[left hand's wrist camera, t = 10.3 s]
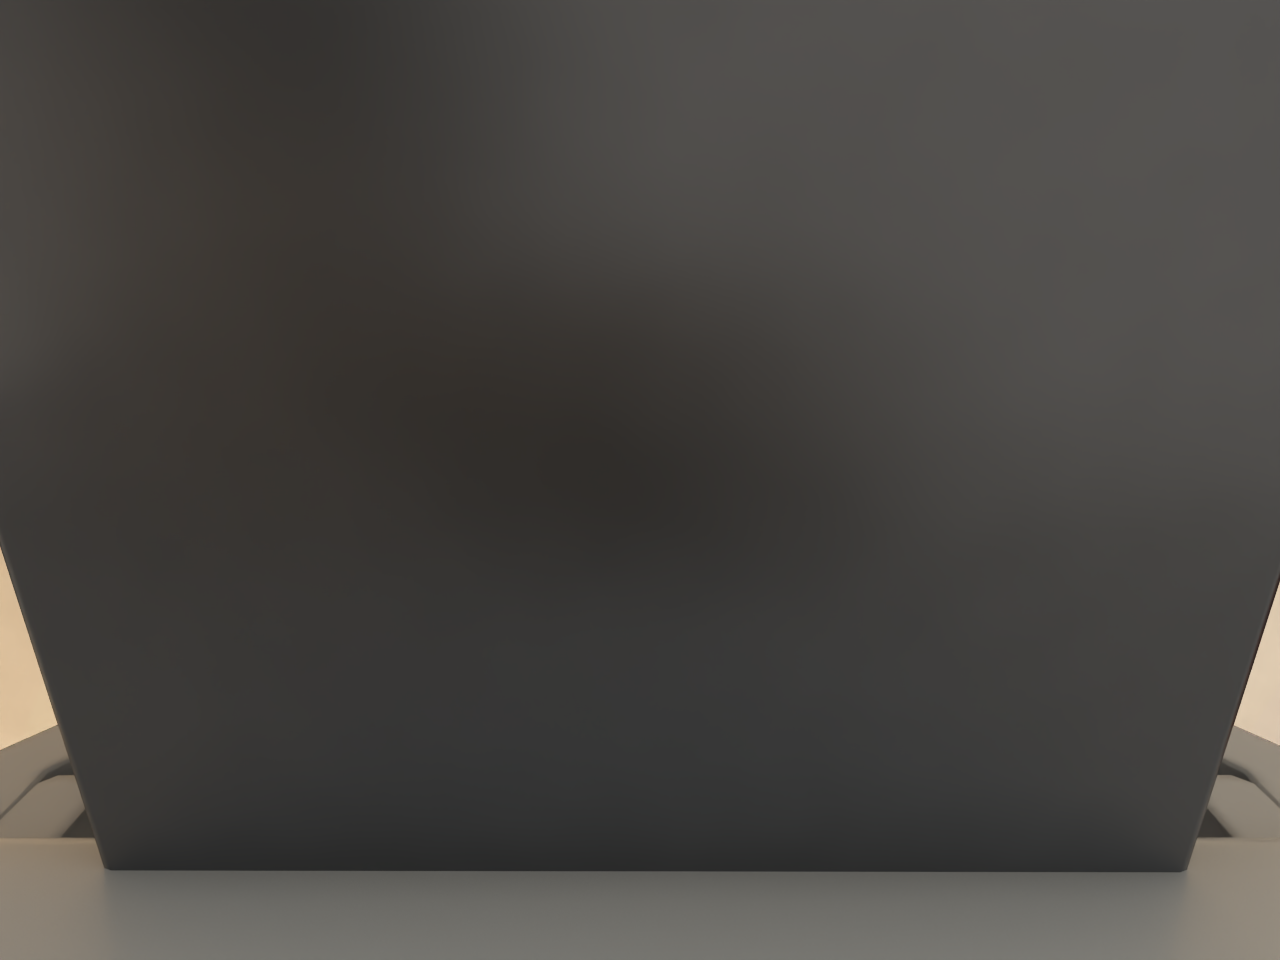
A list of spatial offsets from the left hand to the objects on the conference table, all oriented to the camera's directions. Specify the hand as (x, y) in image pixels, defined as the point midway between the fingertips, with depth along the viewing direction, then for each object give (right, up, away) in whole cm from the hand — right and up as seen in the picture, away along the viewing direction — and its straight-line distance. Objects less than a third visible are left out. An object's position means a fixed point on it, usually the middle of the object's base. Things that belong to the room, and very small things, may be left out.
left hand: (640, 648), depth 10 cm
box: (0, +12, +4) cm, 12 cm away
